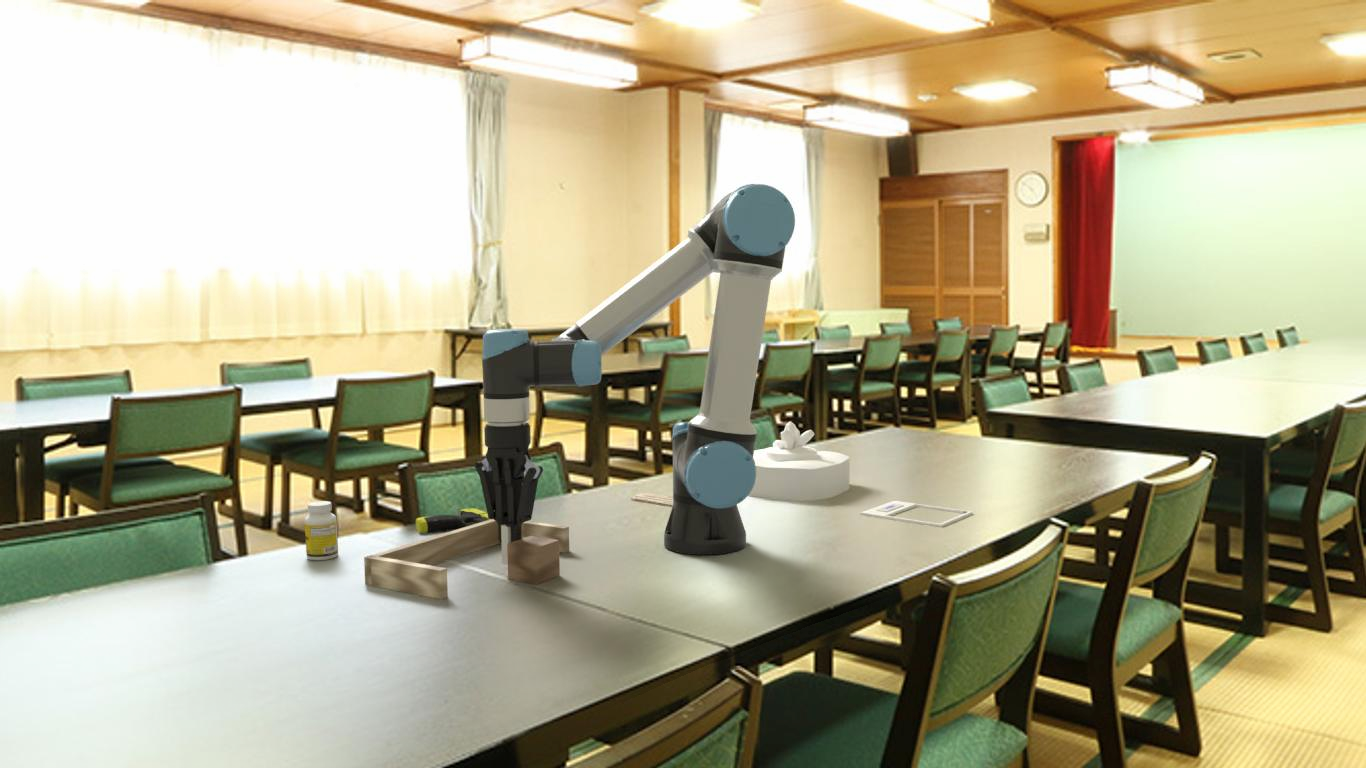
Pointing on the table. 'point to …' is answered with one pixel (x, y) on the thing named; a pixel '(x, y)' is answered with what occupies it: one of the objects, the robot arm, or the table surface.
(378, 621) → the table surface
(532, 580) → the cube
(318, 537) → the supplement bottle
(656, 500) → the wooden plank
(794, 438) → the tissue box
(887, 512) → the photo frame
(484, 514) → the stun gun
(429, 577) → the bay
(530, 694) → the table surface
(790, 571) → the table surface
